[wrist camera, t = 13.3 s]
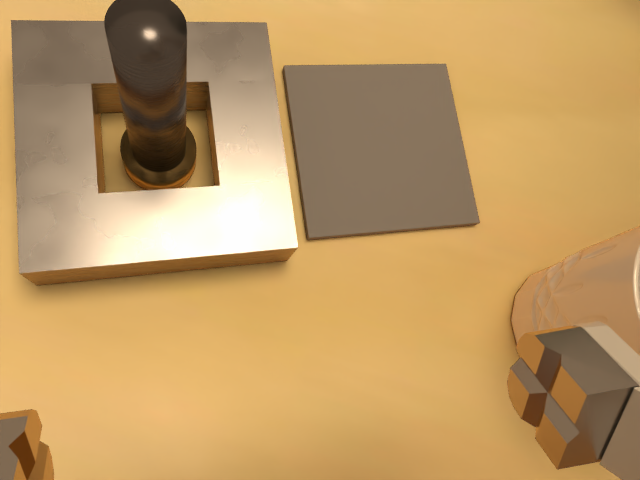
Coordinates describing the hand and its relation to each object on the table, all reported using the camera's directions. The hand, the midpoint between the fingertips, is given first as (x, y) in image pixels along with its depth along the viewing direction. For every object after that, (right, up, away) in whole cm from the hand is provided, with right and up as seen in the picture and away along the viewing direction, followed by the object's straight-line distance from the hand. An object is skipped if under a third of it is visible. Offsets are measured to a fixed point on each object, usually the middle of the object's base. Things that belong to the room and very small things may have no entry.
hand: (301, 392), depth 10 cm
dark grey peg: (-8, +7, +20) cm, 22 cm away
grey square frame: (-8, +7, +20) cm, 22 cm away
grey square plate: (+4, +8, +23) cm, 24 cm away
